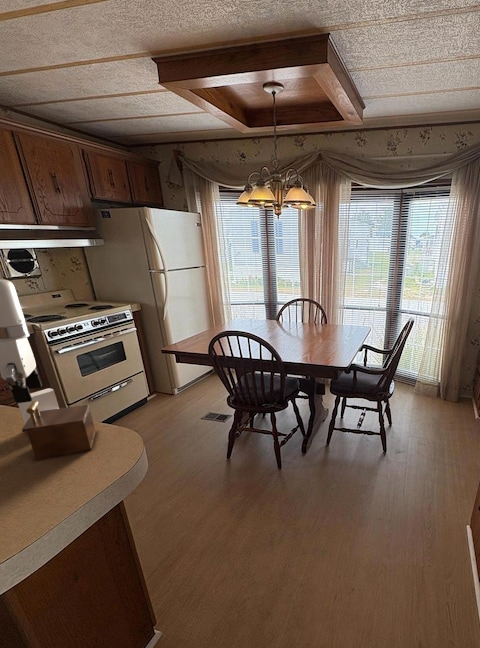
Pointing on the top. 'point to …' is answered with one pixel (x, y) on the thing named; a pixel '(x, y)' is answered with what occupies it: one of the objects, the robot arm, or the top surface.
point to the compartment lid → (54, 417)
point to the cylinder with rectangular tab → (40, 402)
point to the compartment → (63, 439)
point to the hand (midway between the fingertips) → (29, 394)
